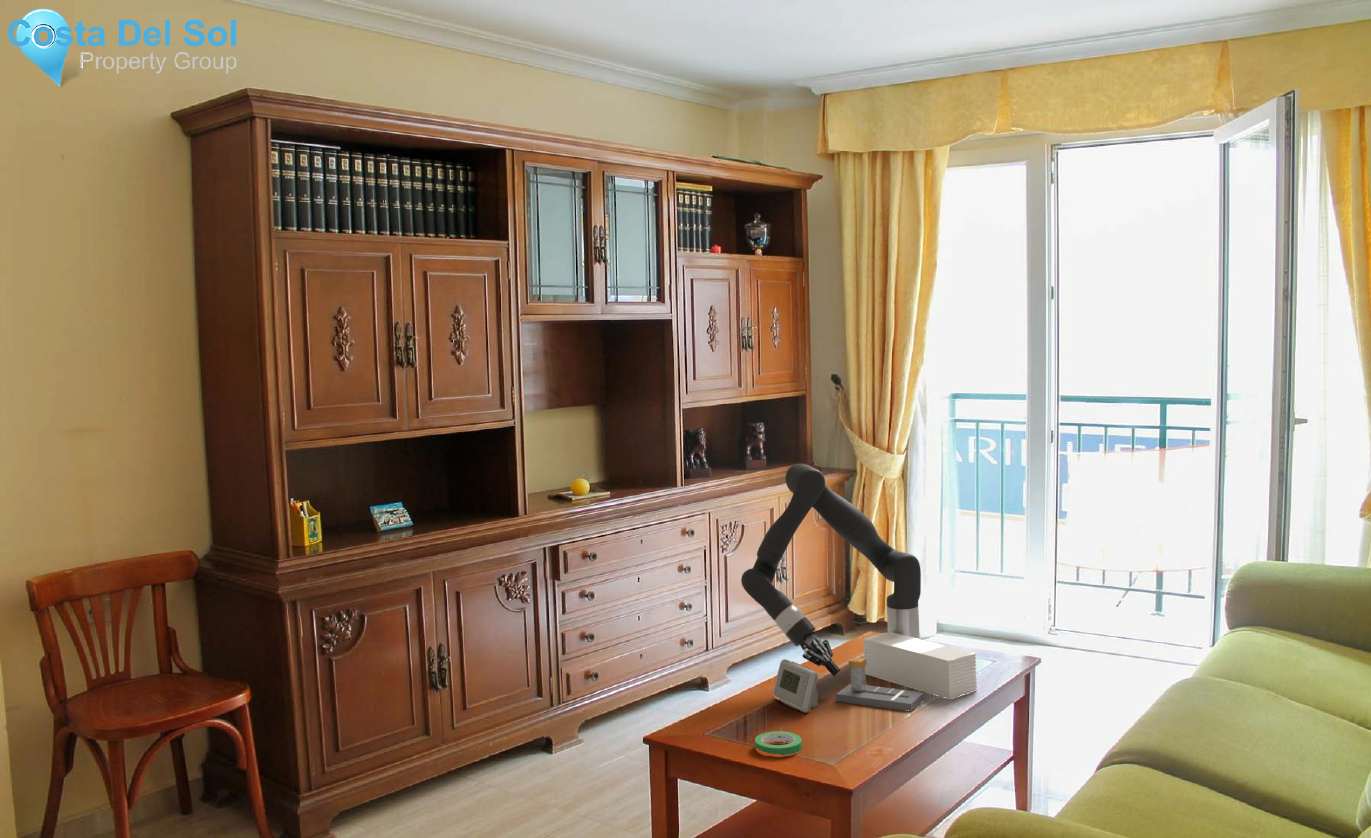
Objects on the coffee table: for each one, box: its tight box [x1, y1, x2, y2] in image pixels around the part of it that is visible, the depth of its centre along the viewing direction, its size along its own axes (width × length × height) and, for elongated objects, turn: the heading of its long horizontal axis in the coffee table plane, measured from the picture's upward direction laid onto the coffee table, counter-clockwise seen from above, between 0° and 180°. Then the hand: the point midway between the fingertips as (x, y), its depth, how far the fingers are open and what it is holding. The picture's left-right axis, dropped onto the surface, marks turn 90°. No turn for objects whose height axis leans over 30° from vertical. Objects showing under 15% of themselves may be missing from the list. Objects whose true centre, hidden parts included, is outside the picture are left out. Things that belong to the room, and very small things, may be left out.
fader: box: [848, 656, 867, 692], centre depth 284 cm, size 4×4×8 cm
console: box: [835, 683, 926, 712], centre depth 281 cm, size 10×21×2 cm, turn 58°
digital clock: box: [772, 659, 819, 713], centre depth 282 cm, size 16×9×11 cm, turn 16°
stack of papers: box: [862, 631, 978, 700], centre depth 295 cm, size 32×11×11 cm, turn 34°
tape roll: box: [754, 730, 803, 755], centre depth 251 cm, size 11×11×3 cm
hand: (837, 673), depth 288 cm, fingers closed
